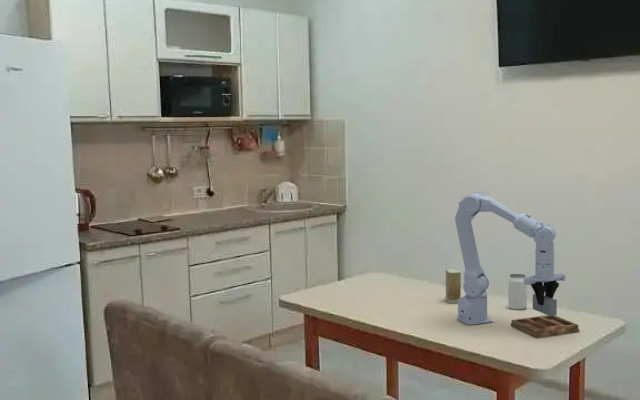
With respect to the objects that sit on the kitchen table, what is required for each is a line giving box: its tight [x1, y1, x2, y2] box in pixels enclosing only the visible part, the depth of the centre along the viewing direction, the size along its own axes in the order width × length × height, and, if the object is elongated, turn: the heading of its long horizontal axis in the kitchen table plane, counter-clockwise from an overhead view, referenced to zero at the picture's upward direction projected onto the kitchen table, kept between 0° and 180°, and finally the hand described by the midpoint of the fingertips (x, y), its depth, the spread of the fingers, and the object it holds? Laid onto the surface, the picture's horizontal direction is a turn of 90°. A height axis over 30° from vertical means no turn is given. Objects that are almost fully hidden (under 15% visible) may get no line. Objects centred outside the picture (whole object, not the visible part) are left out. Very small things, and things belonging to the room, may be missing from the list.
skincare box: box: [445, 268, 462, 305], centre depth 251 cm, size 6×4×12 cm
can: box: [507, 273, 528, 311], centre depth 240 cm, size 6×6×12 cm
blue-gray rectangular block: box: [532, 293, 558, 316], centre depth 214 cm, size 2×9×5 cm, turn 18°
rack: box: [510, 314, 580, 339], centre depth 215 cm, size 16×14×3 cm
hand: (544, 304), depth 214 cm, fingers closed on blue-gray rectangular block, 2 cm apart
